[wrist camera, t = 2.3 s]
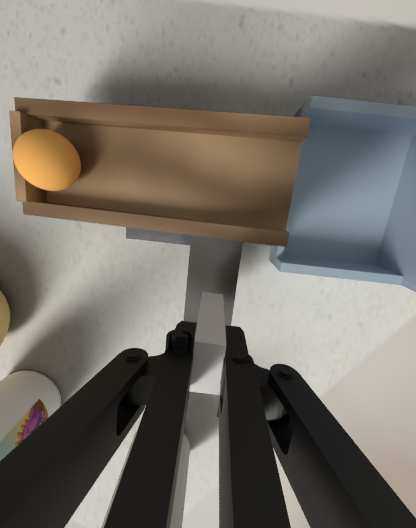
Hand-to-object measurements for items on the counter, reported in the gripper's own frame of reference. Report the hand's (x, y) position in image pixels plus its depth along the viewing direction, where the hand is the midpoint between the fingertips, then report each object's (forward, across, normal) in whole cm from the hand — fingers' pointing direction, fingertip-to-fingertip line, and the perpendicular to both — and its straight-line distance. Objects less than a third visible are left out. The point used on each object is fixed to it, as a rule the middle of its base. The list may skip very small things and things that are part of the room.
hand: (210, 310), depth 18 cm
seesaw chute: (+4, -5, +5) cm, 8 cm away
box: (+9, +11, +9) cm, 17 cm away
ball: (+2, -12, +9) cm, 16 cm away
